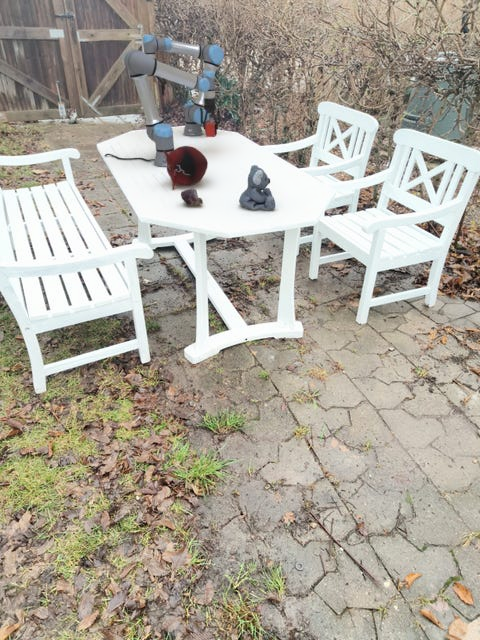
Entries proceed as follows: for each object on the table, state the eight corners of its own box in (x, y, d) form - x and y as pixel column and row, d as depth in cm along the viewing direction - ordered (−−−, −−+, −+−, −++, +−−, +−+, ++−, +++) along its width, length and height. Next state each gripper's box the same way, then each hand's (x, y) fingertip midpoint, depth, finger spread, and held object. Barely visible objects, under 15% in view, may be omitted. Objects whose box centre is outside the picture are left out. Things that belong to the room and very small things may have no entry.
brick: (214, 137, 309) (214, 124, 304) (205, 136, 310) (205, 124, 305) (216, 134, 314) (215, 122, 310) (207, 134, 315) (207, 122, 311)
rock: (196, 202, 238) (178, 205, 233) (194, 185, 234) (176, 188, 230) (205, 205, 228) (187, 208, 224) (203, 188, 224) (185, 191, 220)
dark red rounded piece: (165, 151, 264) (159, 150, 240) (204, 143, 263) (202, 140, 240) (174, 188, 271) (169, 190, 247) (212, 180, 270) (211, 181, 247)
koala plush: (276, 211, 223) (277, 171, 212) (240, 212, 222) (240, 172, 211) (271, 199, 237) (272, 161, 226) (237, 200, 236) (237, 162, 225)
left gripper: (224, 96, 300) (225, 133, 314) (196, 96, 303) (198, 132, 316) (222, 98, 294) (223, 135, 307) (194, 98, 296) (196, 135, 309)
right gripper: (169, 60, 314) (172, 94, 326) (134, 60, 316) (139, 93, 328) (166, 61, 308) (169, 95, 320) (131, 61, 310) (135, 95, 322)
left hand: (211, 134), depth 311 cm, fingers closed on brick, 6 cm apart
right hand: (154, 95), depth 324 cm, fingers open, 13 cm apart
